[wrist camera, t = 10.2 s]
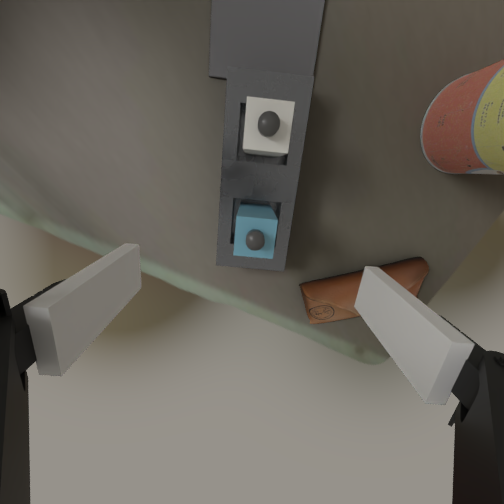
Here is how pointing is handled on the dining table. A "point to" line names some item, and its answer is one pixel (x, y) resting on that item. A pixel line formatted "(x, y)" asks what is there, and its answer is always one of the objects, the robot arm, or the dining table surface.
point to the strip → (260, 162)
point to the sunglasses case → (355, 290)
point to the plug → (255, 231)
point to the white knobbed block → (267, 126)
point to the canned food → (467, 124)
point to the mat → (265, 35)
